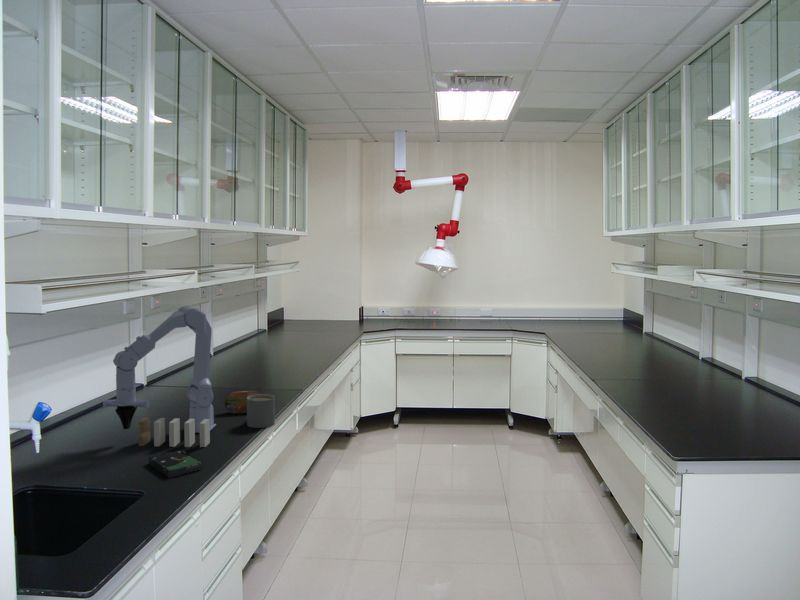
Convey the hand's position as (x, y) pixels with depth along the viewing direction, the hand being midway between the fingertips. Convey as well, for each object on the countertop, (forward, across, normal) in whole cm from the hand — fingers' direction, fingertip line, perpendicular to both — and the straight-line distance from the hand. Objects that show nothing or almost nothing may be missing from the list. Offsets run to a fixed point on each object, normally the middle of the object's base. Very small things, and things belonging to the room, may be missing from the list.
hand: (126, 428), depth 201 cm
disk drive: (+6, +24, -20) cm, 31 cm away
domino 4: (+5, +26, 0) cm, 26 cm away
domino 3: (+5, +21, 0) cm, 21 cm away
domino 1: (+5, +11, 0) cm, 12 cm away
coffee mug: (+5, +38, +26) cm, 47 cm away
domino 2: (+5, +16, 0) cm, 17 cm away
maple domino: (+5, +6, 0) cm, 8 cm away
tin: (+5, +28, +40) cm, 49 cm away
